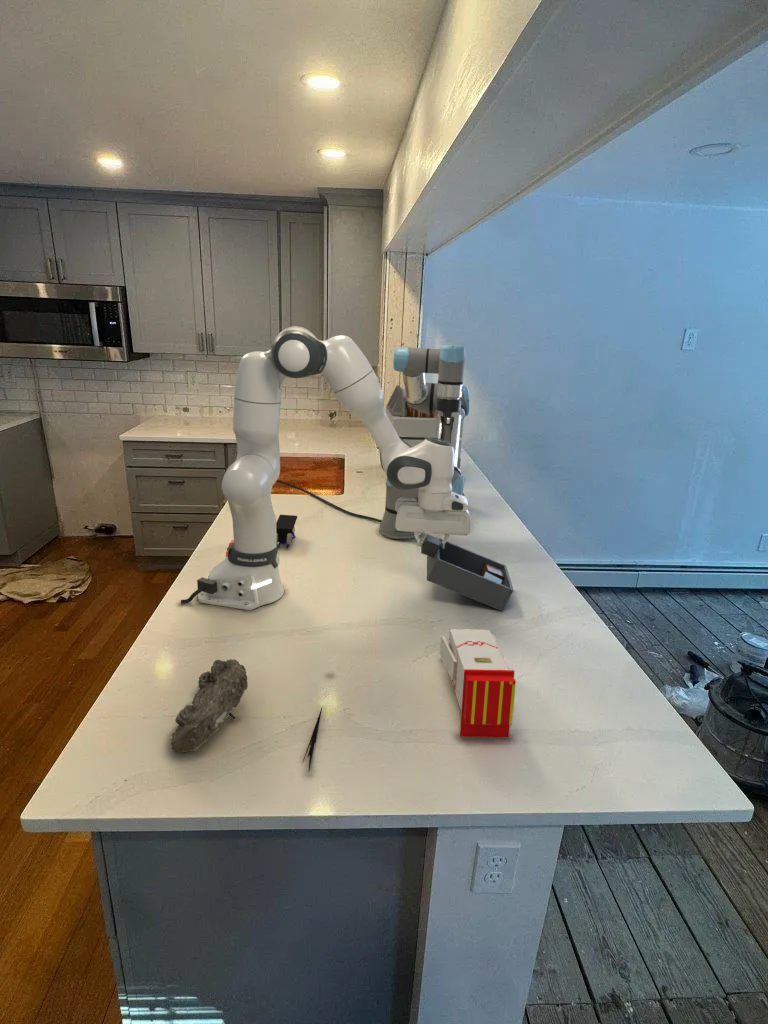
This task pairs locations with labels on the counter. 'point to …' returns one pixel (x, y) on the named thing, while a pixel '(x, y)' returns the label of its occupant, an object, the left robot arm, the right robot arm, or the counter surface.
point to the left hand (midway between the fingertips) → (430, 547)
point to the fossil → (210, 704)
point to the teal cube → (492, 578)
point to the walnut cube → (492, 571)
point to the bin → (465, 573)
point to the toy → (479, 682)
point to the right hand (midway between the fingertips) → (443, 465)
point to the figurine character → (285, 529)
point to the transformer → (413, 421)
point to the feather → (313, 740)
